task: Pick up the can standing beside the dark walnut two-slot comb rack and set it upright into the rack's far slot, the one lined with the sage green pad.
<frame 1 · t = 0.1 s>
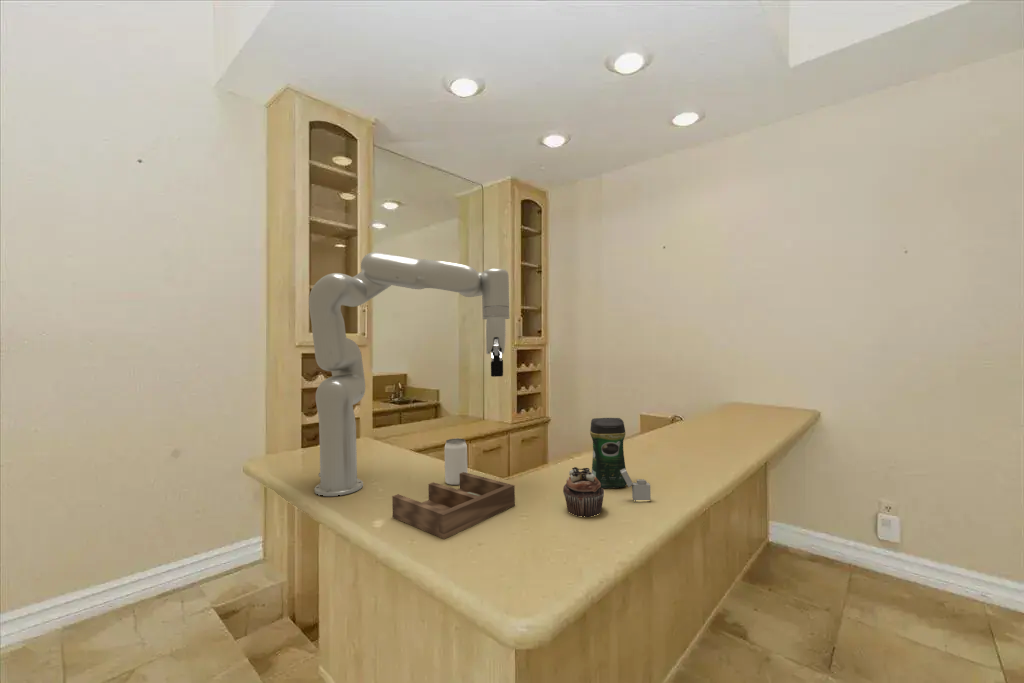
hand: (497, 374, 122), 31 cm above the counter, tool pointing down, fingers open, 9 cm apart
coffee jar: (608, 485, 121), on the counter
can: (456, 482, 126), on the counter
cupcake: (584, 511, 103), on the counter
lighter: (635, 501, 109), on the counter
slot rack: (455, 511, 104), on the counter
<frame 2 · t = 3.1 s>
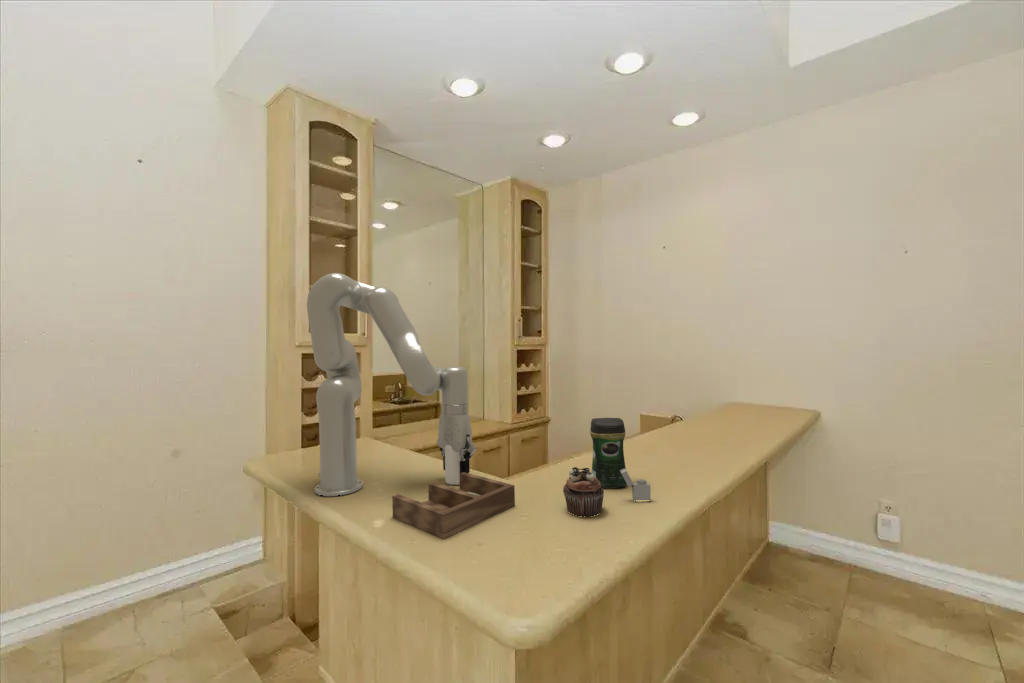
hand: (456, 470, 126), 3 cm above the counter, tool pointing down, fingers closed on can, 6 cm apart
can: (456, 482, 126), on the counter, touching gripper
everything else where it was.
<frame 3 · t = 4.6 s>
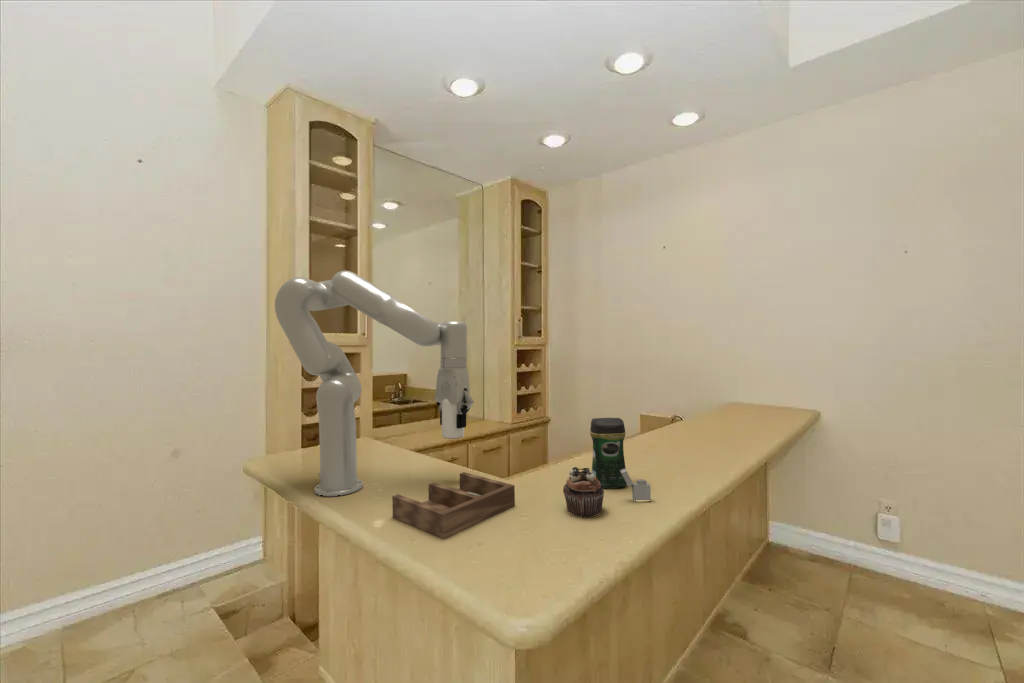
hand: (452, 425, 126), 16 cm above the counter, tool pointing down, fingers closed on can, 6 cm apart
can: (453, 437, 126), point 13 cm above the counter, touching gripper
everything else where it was.
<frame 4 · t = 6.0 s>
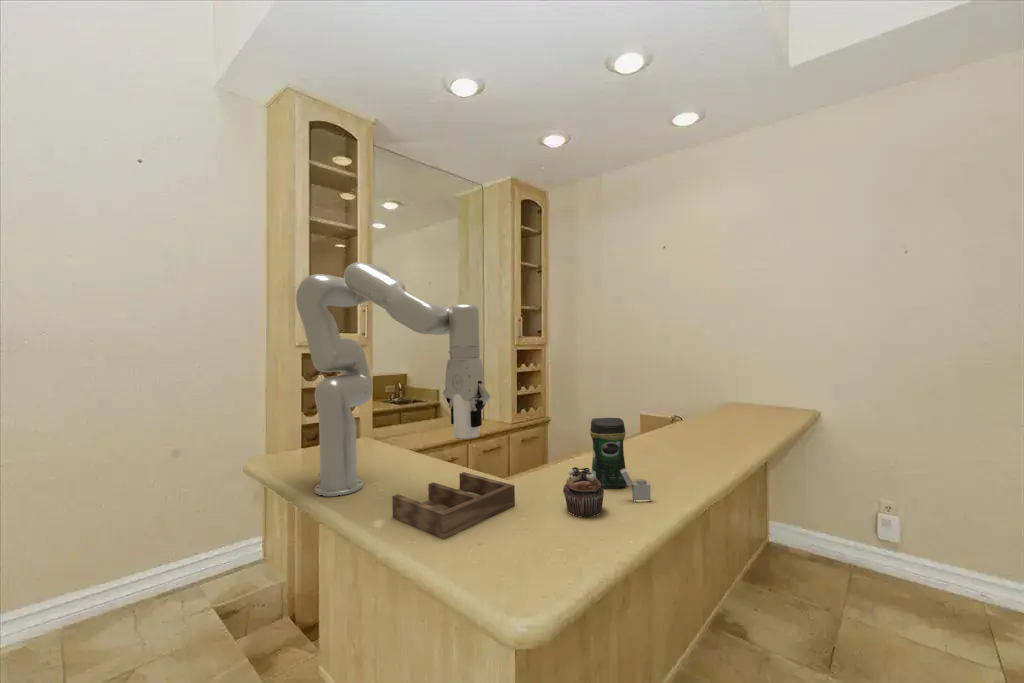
hand: (466, 424, 110), 20 cm above the counter, tool pointing down, fingers closed on can, 6 cm apart
can: (466, 437, 110), point 16 cm above the counter, touching gripper
everything else where it was.
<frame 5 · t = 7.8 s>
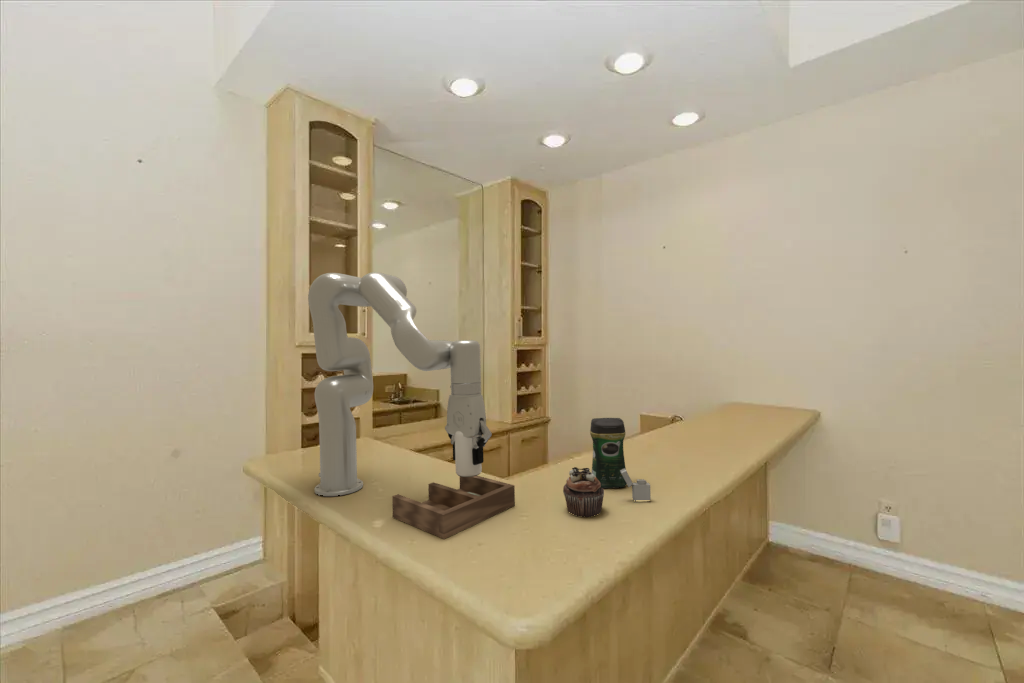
hand: (468, 460, 109), 11 cm above the counter, tool pointing down, fingers closed on can, 6 cm apart
can: (468, 474, 109), point 7 cm above the counter, touching gripper
everything else where it was.
when the fingers open (6 cm above the counter, at t = 9.3 s): can drops 1 cm, resting on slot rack.
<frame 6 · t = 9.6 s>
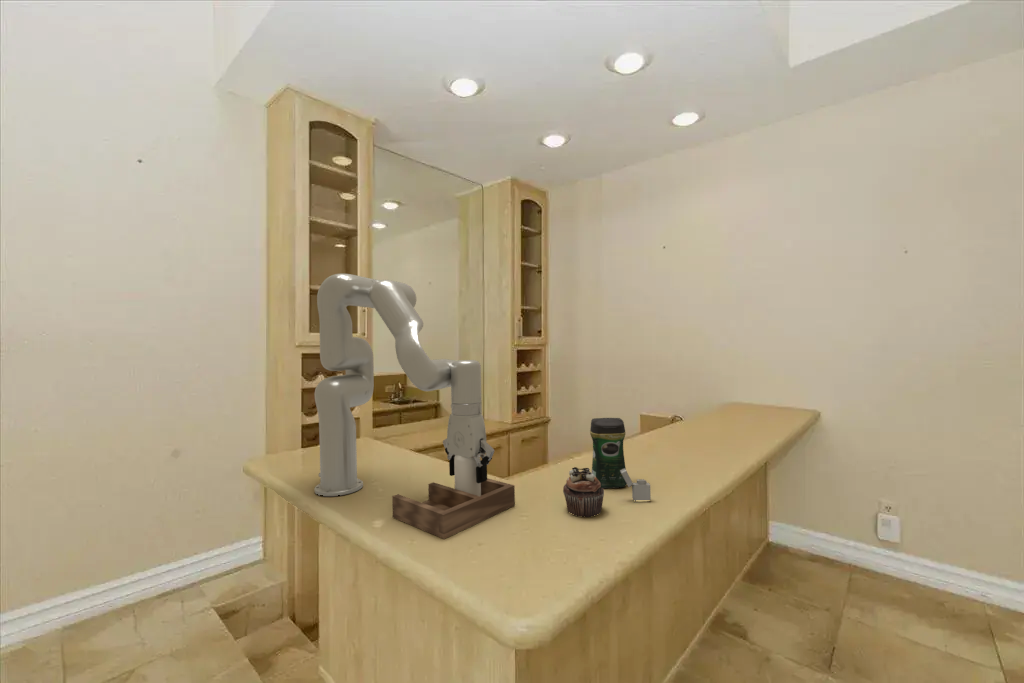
hand: (468, 478, 109), 6 cm above the counter, tool pointing down, fingers open, 9 cm apart
can: (468, 499, 109), point 1 cm above the counter, touching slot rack
everything else where it was.
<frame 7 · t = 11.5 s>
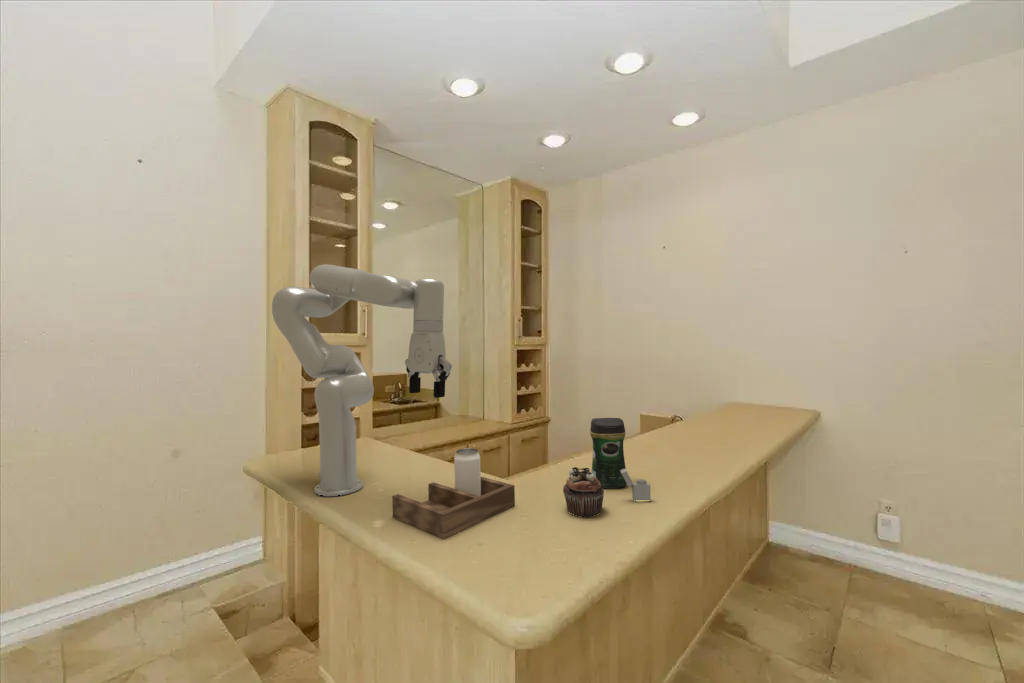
hand: (426, 394, 111), 27 cm above the counter, tool pointing down, fingers open, 9 cm apart
nothing on the counter moved.
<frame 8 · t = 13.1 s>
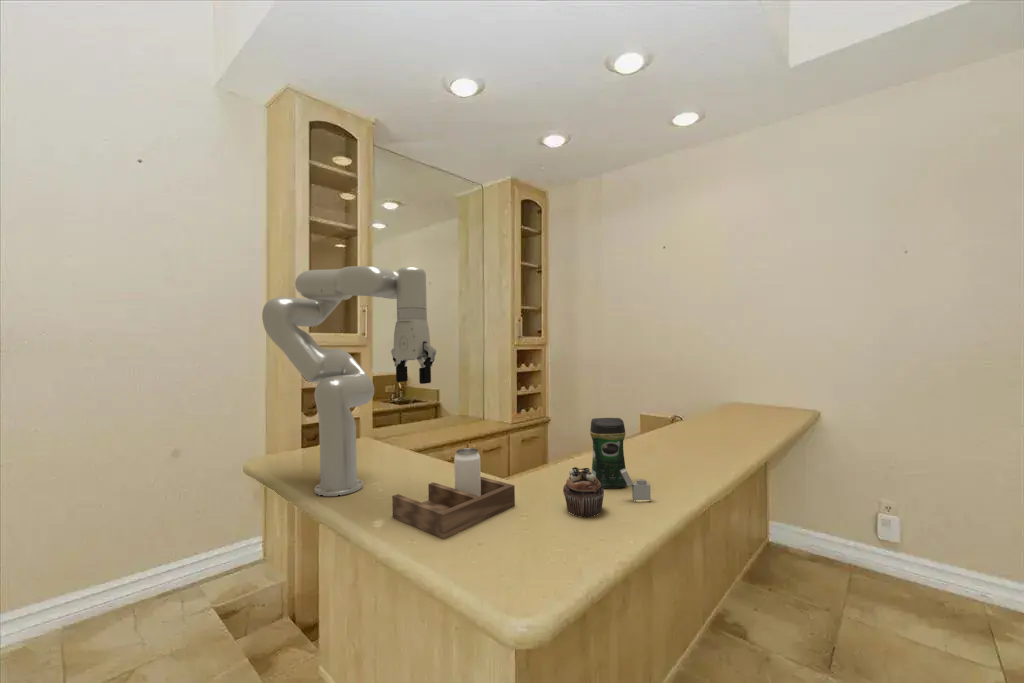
hand: (413, 382, 112), 30 cm above the counter, tool pointing down, fingers open, 9 cm apart
nothing on the counter moved.
at the end: can inside the target area on the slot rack (0.1 cm from its centre), point 1.0 cm above the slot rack's base; can tilted 0°; the gripper is holding nothing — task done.
